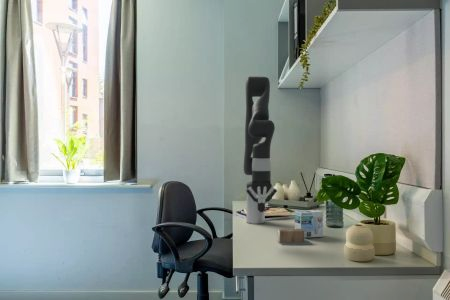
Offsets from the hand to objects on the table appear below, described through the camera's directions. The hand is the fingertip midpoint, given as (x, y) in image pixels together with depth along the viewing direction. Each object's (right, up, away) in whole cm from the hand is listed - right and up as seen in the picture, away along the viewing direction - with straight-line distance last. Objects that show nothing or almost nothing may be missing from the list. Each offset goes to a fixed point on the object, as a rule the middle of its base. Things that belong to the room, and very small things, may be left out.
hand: (261, 212), depth 163 cm
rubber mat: (+14, -12, +1) cm, 18 cm away
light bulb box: (+22, -12, +10) cm, 27 cm away
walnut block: (+7, -10, 0) cm, 12 cm away
